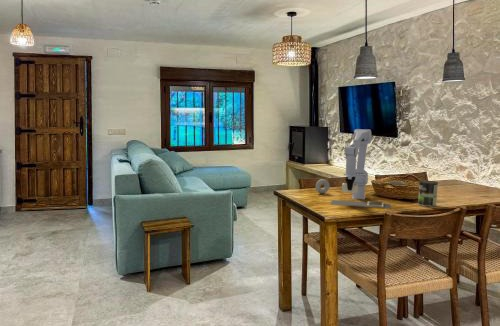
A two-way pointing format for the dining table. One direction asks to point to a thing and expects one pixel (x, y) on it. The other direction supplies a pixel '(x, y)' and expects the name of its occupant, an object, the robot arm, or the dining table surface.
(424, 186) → the coffee can
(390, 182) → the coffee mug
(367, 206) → the frame
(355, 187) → the card box
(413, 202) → the dining table surface
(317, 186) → the donut
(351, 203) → the mat
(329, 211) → the dining table surface
